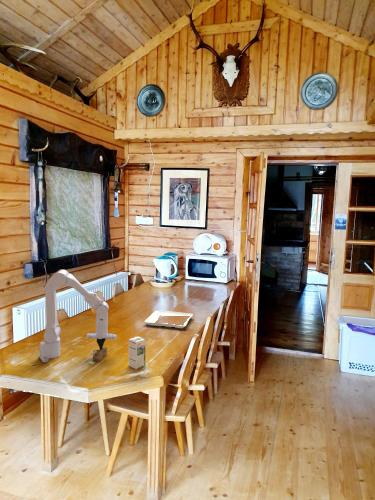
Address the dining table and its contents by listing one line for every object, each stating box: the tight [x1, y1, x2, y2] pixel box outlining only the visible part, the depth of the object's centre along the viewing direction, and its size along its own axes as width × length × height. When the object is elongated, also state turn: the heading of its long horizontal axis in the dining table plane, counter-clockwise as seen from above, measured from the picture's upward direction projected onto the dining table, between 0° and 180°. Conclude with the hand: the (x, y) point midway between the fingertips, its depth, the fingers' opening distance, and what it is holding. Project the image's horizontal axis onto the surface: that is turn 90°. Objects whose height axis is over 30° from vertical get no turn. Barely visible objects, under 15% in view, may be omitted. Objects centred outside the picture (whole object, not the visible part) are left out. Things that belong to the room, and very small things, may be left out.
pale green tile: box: [87, 360, 96, 365], centre depth 176 cm, size 2×3×1 cm
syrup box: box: [128, 336, 147, 370], centre depth 175 cm, size 6×6×14 cm
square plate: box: [143, 310, 194, 329], centre depth 247 cm, size 27×27×4 cm
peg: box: [90, 346, 108, 362], centre depth 181 cm, size 4×12×5 cm, turn 159°
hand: (101, 352), depth 186 cm, fingers closed
